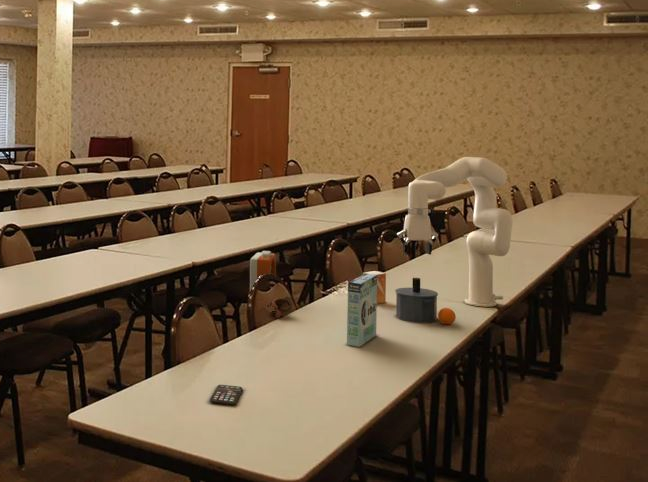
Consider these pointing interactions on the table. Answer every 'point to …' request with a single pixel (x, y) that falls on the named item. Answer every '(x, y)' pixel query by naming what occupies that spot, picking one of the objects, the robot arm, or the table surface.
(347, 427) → the table surface
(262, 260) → the alarm clock
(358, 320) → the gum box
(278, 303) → the orange grey twisted loop
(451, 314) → the ball
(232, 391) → the black calculator
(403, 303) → the pot
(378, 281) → the small box
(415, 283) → the lid
